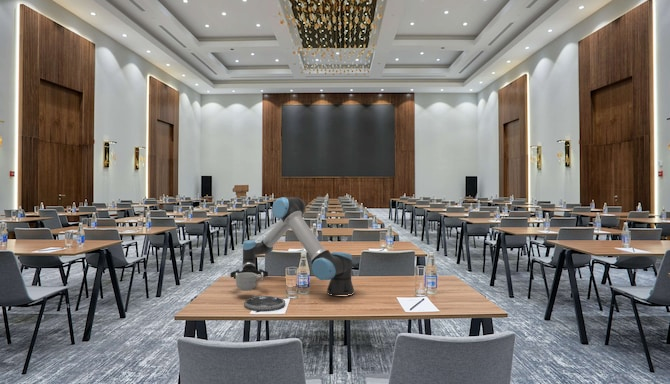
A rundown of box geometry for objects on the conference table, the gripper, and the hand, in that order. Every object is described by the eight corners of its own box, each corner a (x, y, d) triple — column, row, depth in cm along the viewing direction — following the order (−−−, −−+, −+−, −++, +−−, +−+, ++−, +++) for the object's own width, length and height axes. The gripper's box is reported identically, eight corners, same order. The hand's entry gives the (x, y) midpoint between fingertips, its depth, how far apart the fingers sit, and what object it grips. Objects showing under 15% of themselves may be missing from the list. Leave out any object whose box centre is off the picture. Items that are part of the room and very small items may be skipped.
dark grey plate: (291, 302, 212) (291, 298, 212) (274, 313, 193) (274, 309, 193) (256, 298, 218) (256, 294, 218) (236, 308, 199) (236, 304, 199)
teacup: (234, 292, 213) (235, 277, 212) (235, 285, 224) (236, 271, 223) (262, 292, 216) (263, 277, 215) (261, 285, 227) (262, 271, 226)
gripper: (270, 275, 245) (273, 283, 224) (226, 276, 240) (225, 285, 219) (270, 262, 245) (273, 269, 224) (227, 263, 240) (225, 270, 219)
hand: (249, 277), depth 222 cm, fingers closed on teacup, 13 cm apart
